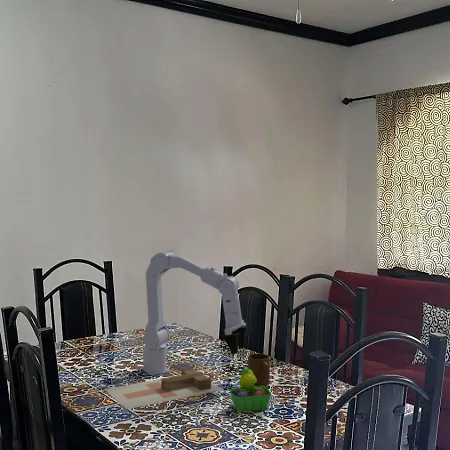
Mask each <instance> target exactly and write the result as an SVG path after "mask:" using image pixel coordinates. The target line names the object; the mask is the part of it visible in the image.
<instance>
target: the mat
mask: <svg viewBox="0 0 450 450" xmlns="http://www.w3.org/2000/svg"><path fill="white" fill-rule="evenodd" d="M161 379H162V378H159V379H154V380H148V381H142V382H137V383H131V384H125V385H120V386H115V387H109V388H104V389H103V391H105V392H106V390H107V392H108V395H110V396H111V397H112V398H113V399H114V400H115V401H116V402H117V403H118V404H119V405H121V406H122V407H123V408H124V409H125V410H131V409H134V408H135V409H136V408H140V407H145V406H149V405H150V406H151V405H155V404H158V403H159V404H160V403H164V402H170V401H174V400H175V401H176V400H179V399H185V398H189V397H193V396H198V395H199V396H200V395H204V394H209V393H213V392H219V391H223V390H224V388H222V387H220V386H219V385H217V384H215V383H214V382H211V388H210V389H205V390H199V389H198V388H196V387H194V386H191V387H185V388H180V389H175V390H170V391H166V390H164V389H163V388H161ZM107 392H106V393H107Z"/></svg>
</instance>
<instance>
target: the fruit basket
mask: <svg viewBox="0 0 450 450" xmlns="http://www.w3.org/2000/svg"><path fill="white" fill-rule="evenodd" d="M256 382H257V380H256V377H255V376H254V374H253V372H252V371H251V370H250V369H248V367H245V368H243V369H242V370H241V374H240V376H239V379H238V383H239V386H240V387H235V388H230V389H229V393H230V395H231V400H232V403H233V407H234V408H235V409H236V411H237V412H238V413H244V412H251V411H260V410H261V411H262V410H263V411H264V410H267V409H268V406H269V402H270V398H271V397H272V392H271V391H270V390H269V389H268V388H267V386H254V384H255V383H256Z"/></svg>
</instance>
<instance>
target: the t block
mask: <svg viewBox="0 0 450 450" xmlns="http://www.w3.org/2000/svg"><path fill="white" fill-rule="evenodd" d="M160 379H161V388H163V389H164V390H166V391H170V390H175V389H180V388H185V387H191V386H194V387H196V388H198V389H199V390H205V389H210V388H211V383H212V379H211V378H210V377H208V376H206V375H205V374H202V373H201V372H199V371H198V370H195V369H194V368H192V367H190V368H185V369H181V371H180V375H175V376H170V377H169V376H168V377H163V378H160Z"/></svg>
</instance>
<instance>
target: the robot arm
mask: <svg viewBox="0 0 450 450" xmlns="http://www.w3.org/2000/svg"><path fill="white" fill-rule="evenodd" d="M149 261H150V262H149V264H148V267H147V269H146V271H145V284H146V301H147V303H146V304H147V318H148V321H147V323H146V326H145V327H144V329H145V331H144V335H143V344H144V345H145V347H144V349H143V352H142V366H141V367H140V369H141V370H142V371H144V372H145V373H147V374H148V375H150V376H155V375H159V374H160V375H161V374H165V373H171V372H172V371H171V369H169V368H168V367H167V341H168V340H169V338H170V332H169V329H168V328H167V323H166V321H165V320H164V309H163V294H162V293H163V290H162V277H163V275H164V274H166V272H168V271H169V270H171V269H177V268H179V269H183V270H185V271H187V272H189V273H191V274H193V275H196V276H197V277H200V281H201V282H202V283H204V284H206V285H208V286H210V287H212V288H214V289H215V290H218V292H219V293H220V294H221V297H222V298H221V299H222V306H223V312H224V319H225V329H224V333H223V334H222V338H223V339H224V341H225V342H226V344H227V347H228V349H229V352H230V354H231V355H237V354H238V352H239V349H245V348H246V336H247V332H248V329H249V326H248V325H247V323H246V322H245V320H244V319H242V317H243V316H242V311H241V305H240V297H239V293H238V290H239V288H240V287H239V286H240V284H239V280H238V279H237V278H236V277H235V276H233V275H231V276H228V274H227V273H222V272H220V271H218V270H216V269H217V268H216V267H214V266H212V267H210V266H208V267H203V266H201V265H199V264H198V263H197V262H194V261H193V260H191V259H189V258H188V257H186V256H184V255H182V254H181V253H178V252H175V251H173V250H167V251H164V252H157V253H156V254H155V255H154V256H152V257H151V258H150V260H149Z"/></svg>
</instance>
